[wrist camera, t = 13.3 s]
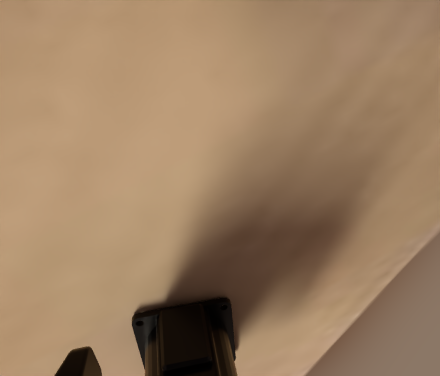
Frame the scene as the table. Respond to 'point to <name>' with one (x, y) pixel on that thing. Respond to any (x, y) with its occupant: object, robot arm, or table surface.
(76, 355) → the robot arm
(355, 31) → the table surface
